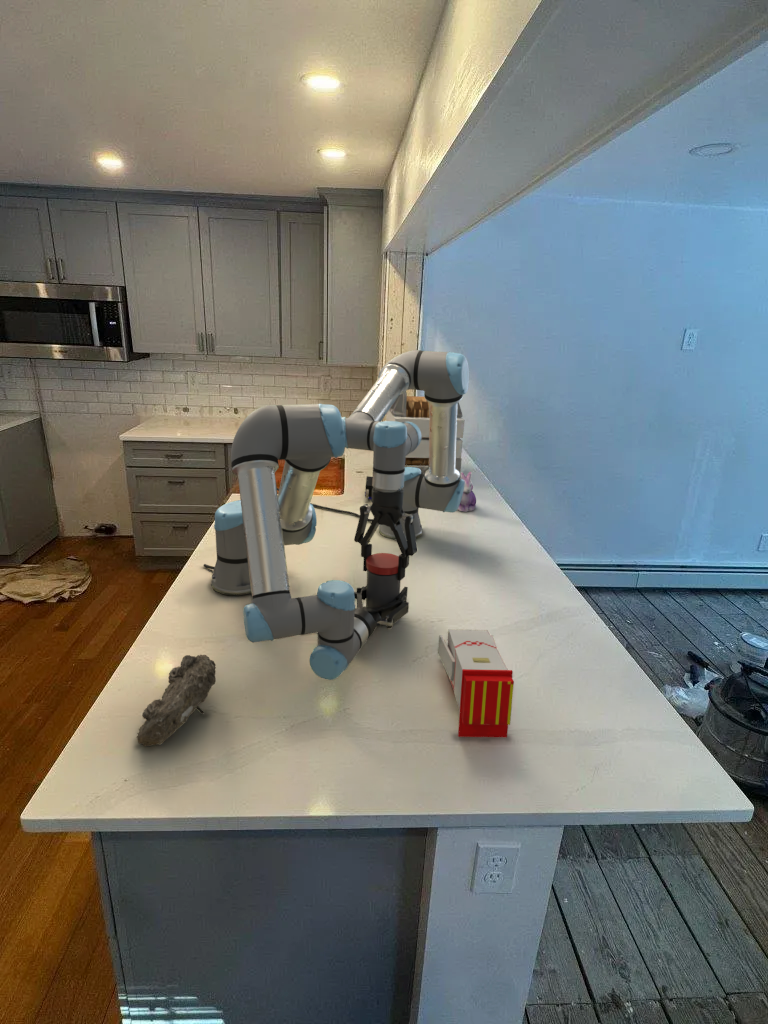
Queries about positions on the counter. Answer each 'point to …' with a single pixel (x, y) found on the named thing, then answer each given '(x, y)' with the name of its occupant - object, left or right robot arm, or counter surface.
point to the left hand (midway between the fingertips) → (389, 587)
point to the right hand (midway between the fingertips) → (383, 573)
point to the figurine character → (368, 488)
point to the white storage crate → (422, 427)
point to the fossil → (178, 699)
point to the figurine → (467, 495)
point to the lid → (382, 563)
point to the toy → (478, 682)
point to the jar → (381, 589)
